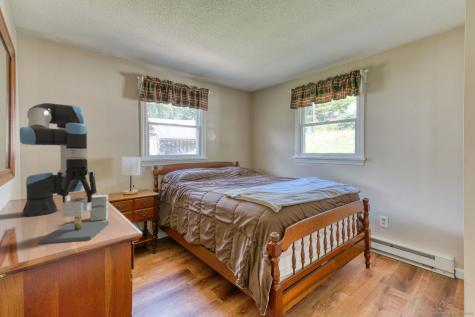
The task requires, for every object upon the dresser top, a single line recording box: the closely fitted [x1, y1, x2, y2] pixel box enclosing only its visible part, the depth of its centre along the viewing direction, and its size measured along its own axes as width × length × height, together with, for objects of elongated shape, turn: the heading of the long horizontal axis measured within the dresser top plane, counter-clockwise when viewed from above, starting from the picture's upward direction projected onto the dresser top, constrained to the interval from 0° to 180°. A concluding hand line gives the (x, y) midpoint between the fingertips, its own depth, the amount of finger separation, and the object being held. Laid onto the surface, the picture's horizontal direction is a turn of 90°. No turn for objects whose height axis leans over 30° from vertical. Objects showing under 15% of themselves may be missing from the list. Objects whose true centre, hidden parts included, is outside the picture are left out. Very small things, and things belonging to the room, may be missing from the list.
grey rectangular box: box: [61, 196, 92, 218], centre depth 96 cm, size 10×7×6 cm
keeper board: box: [38, 220, 109, 244], centre depth 97 cm, size 20×18×2 cm
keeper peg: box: [73, 216, 82, 230], centre depth 96 cm, size 2×2×7 cm
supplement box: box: [89, 193, 109, 222], centre depth 117 cm, size 7×7×13 cm
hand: (77, 210), depth 96 cm, fingers closed on grey rectangular box, 7 cm apart
